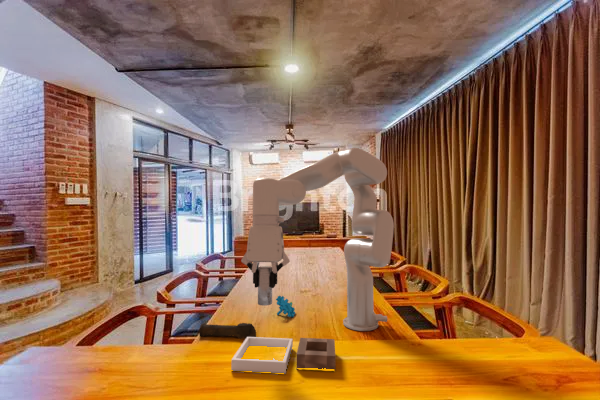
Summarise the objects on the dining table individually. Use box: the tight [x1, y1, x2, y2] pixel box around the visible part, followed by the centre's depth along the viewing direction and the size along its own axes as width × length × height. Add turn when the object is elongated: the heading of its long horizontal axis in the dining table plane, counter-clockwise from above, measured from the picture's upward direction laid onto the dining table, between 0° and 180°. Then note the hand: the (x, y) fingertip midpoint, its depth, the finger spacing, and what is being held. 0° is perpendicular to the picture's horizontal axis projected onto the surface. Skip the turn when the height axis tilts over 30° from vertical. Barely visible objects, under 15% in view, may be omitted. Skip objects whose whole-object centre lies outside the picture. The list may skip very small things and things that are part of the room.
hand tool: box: [198, 322, 257, 340], centre depth 93 cm, size 19×4×5 cm, turn 82°
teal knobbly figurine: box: [275, 295, 296, 318], centre depth 114 cm, size 11×6×10 cm
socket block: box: [296, 337, 336, 370], centre depth 77 cm, size 10×10×4 cm
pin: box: [257, 265, 273, 306], centre depth 79 cm, size 4×4×10 cm
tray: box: [230, 336, 294, 375], centre depth 78 cm, size 14×14×3 cm
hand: (265, 285), depth 79 cm, fingers closed on pin, 4 cm apart
